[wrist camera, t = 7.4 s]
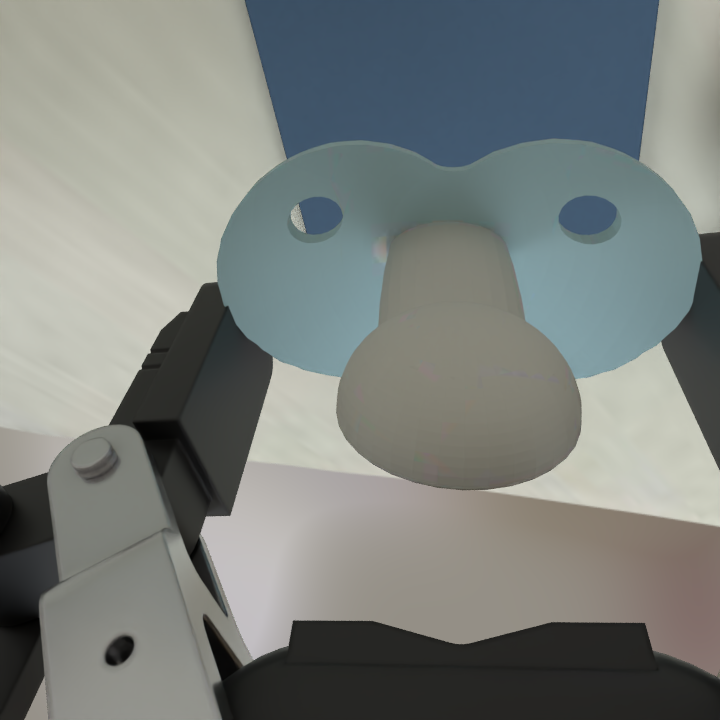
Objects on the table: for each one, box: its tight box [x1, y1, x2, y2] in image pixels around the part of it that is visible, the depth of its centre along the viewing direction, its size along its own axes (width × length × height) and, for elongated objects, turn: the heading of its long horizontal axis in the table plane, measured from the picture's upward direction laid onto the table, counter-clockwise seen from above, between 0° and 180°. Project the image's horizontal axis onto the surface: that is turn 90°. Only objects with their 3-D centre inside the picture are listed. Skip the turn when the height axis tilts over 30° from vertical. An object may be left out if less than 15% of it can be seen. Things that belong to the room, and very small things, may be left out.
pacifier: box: [217, 139, 702, 490], centre depth 9 cm, size 7×6×6 cm
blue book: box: [245, 0, 659, 235], centre depth 23 cm, size 14×20×1 cm
